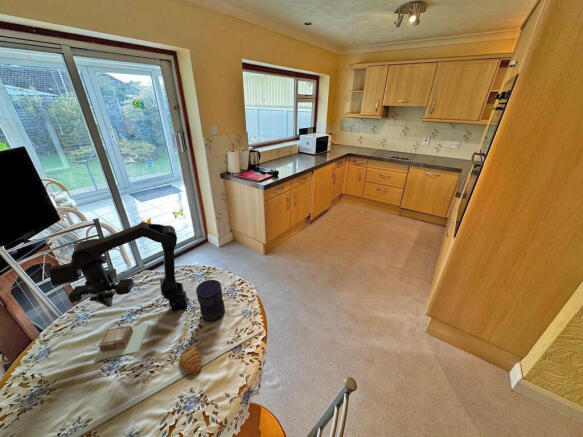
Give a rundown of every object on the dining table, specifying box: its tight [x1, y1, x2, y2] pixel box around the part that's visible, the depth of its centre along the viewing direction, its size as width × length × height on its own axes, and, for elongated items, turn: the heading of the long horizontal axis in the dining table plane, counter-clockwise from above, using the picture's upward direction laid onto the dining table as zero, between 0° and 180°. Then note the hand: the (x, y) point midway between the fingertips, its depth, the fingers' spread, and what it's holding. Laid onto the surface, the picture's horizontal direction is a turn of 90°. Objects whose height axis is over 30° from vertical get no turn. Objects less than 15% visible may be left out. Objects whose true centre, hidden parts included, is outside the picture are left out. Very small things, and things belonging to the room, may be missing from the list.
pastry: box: [179, 345, 203, 376], centre depth 82 cm, size 9×7×4 cm
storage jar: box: [195, 279, 226, 324], centre depth 98 cm, size 10×10×15 cm
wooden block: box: [98, 325, 133, 352], centre depth 88 cm, size 4×7×8 cm
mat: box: [94, 323, 149, 361], centre depth 89 cm, size 14×12×1 cm
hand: (110, 305), depth 90 cm, fingers closed
